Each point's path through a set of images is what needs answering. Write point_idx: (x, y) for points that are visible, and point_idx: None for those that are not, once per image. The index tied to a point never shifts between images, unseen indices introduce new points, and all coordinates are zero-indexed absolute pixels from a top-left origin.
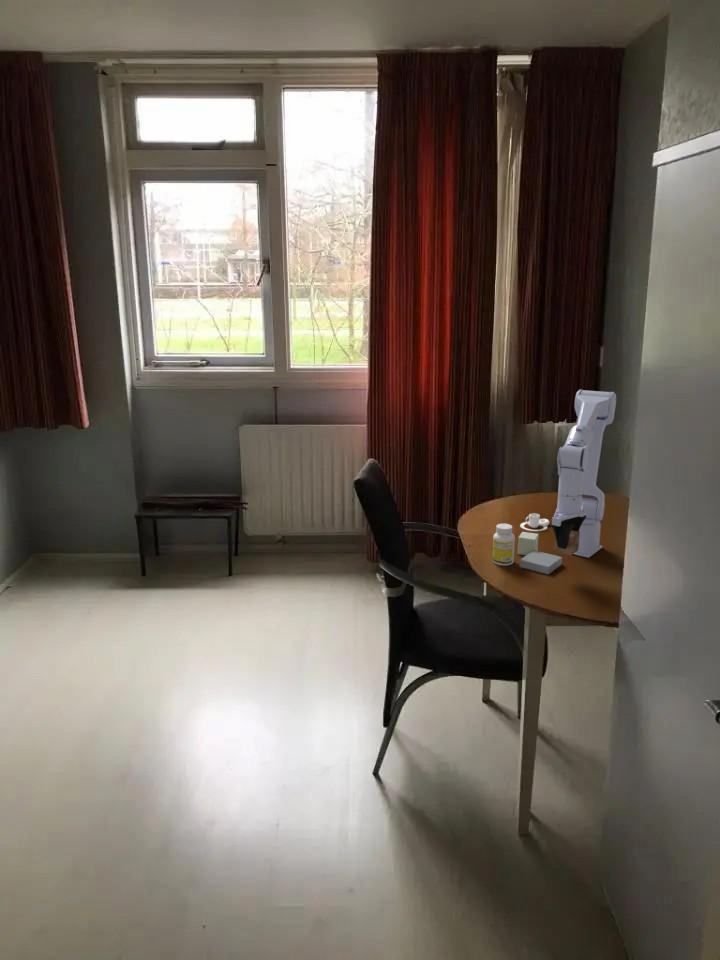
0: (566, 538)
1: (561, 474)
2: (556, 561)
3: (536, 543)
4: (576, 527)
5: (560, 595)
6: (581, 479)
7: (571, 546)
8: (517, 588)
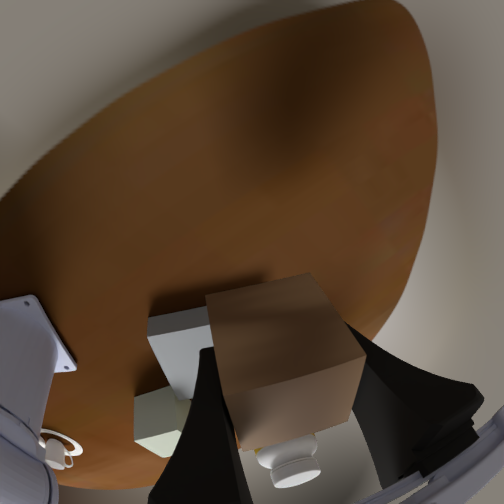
0: (388, 354)
1: None
2: (194, 327)
3: (152, 417)
4: (228, 435)
5: (373, 172)
6: None
7: (331, 307)
8: (389, 281)
